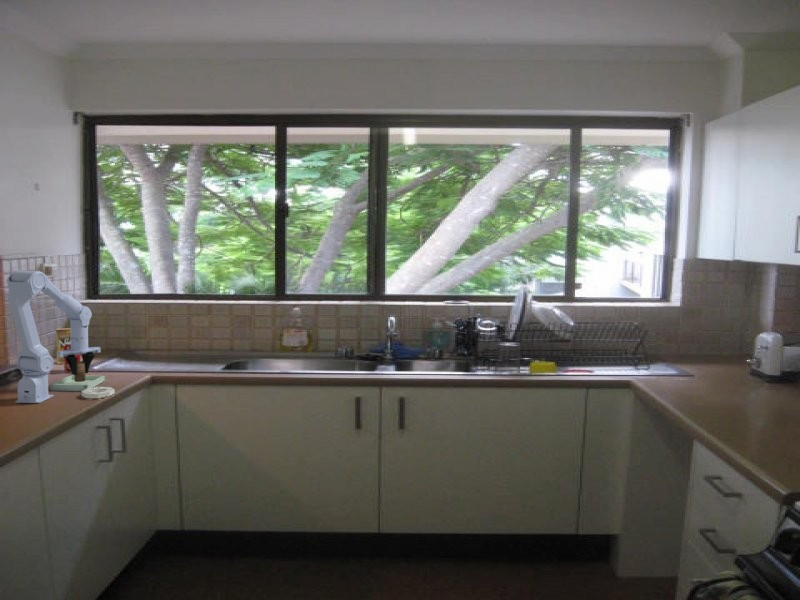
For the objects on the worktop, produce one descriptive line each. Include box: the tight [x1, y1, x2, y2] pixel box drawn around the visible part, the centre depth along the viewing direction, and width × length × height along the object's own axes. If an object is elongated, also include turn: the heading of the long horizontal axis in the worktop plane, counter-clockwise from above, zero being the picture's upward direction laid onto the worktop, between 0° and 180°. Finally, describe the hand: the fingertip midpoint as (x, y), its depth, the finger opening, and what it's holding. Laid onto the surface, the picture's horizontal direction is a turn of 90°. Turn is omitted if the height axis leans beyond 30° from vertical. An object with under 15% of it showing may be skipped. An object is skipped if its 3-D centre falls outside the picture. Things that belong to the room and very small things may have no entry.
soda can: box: [63, 342, 83, 374], centre depth 241 cm, size 7×7×12 cm
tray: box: [49, 374, 106, 392], centre depth 220 cm, size 15×13×2 cm
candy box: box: [55, 327, 71, 365], centre depth 257 cm, size 9×4×15 cm, turn 118°
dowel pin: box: [74, 361, 86, 382], centre depth 218 cm, size 4×4×7 cm
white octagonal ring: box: [81, 386, 116, 398], centre depth 208 cm, size 10×10×2 cm
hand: (79, 373), depth 218 cm, fingers closed on dowel pin, 4 cm apart
